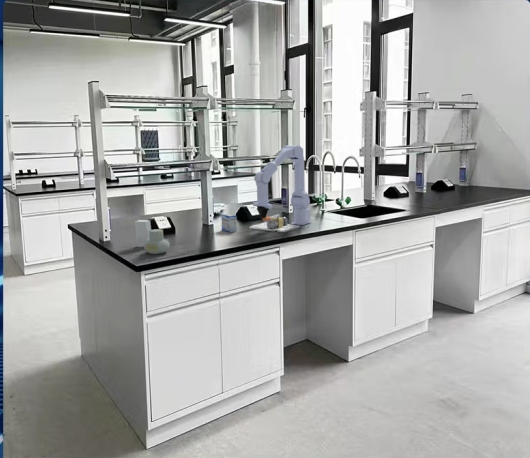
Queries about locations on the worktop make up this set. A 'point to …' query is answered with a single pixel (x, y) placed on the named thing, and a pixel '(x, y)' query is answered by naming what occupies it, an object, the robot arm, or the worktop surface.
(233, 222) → the medicine box
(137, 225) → the skincare box
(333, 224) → the worktop surface
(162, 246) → the air freshener
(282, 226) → the valve rig
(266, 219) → the lever
